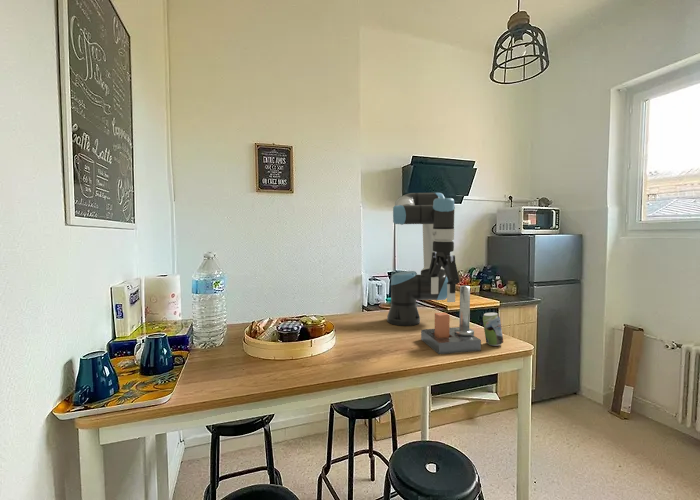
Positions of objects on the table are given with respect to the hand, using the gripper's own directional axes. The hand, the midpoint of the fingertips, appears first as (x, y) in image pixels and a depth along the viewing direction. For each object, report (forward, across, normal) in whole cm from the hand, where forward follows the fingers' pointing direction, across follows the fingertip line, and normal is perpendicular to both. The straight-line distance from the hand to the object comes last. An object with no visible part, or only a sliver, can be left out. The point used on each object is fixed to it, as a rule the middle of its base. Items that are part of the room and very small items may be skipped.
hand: (442, 297), depth 129 cm
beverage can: (+18, +4, +19) cm, 26 cm away
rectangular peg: (+18, +1, 0) cm, 18 cm away
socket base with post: (+18, +1, +3) cm, 18 cm away
